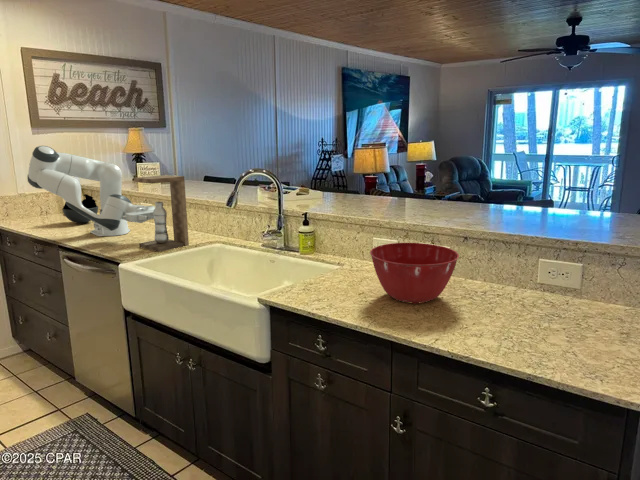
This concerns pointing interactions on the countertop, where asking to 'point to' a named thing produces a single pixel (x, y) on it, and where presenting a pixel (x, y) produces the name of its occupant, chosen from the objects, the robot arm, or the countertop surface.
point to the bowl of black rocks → (77, 217)
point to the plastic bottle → (160, 223)
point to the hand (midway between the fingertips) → (155, 216)
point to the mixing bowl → (413, 270)
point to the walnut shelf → (177, 212)
